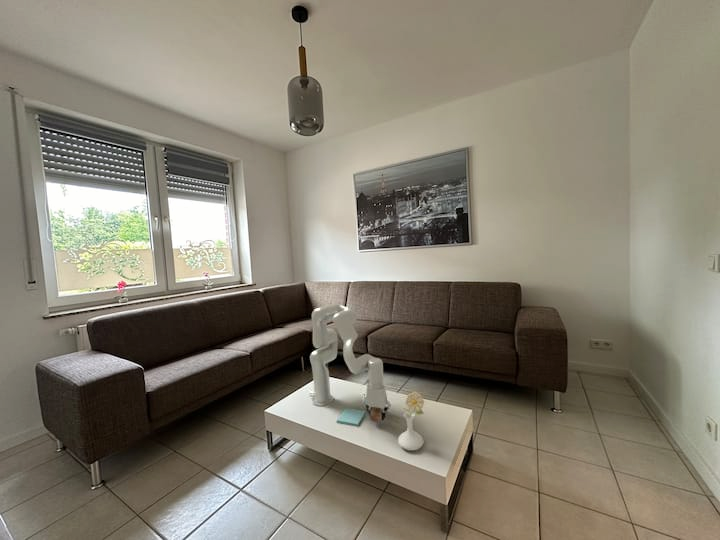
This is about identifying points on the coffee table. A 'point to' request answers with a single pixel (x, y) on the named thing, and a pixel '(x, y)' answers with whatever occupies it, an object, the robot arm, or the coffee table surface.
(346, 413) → the teal board
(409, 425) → the flower in vase
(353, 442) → the coffee table surface
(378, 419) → the walnut block
